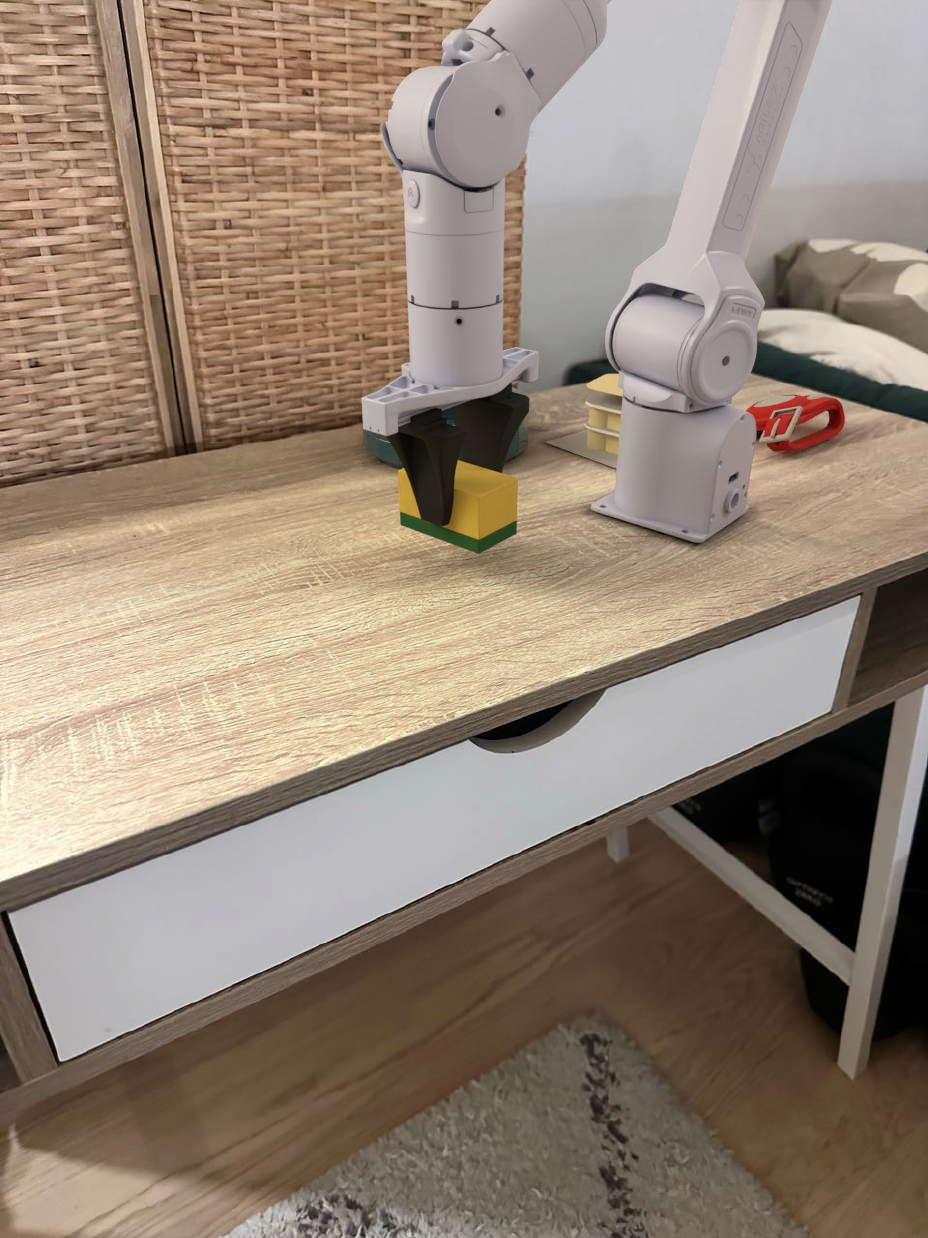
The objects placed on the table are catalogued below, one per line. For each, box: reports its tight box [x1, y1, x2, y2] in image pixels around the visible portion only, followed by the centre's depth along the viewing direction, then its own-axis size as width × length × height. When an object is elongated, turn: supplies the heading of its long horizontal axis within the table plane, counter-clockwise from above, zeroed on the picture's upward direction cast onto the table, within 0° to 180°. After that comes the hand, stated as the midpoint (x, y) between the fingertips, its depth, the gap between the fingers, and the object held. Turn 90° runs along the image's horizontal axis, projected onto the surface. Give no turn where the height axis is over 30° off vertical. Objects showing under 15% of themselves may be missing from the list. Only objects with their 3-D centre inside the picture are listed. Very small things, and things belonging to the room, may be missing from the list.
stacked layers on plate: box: [544, 373, 623, 470], centre depth 83 cm, size 10×9×6 cm
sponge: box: [397, 460, 519, 555], centre depth 62 cm, size 7×4×4 cm, turn 50°
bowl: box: [361, 385, 530, 469], centre depth 84 cm, size 15×15×4 cm
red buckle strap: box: [745, 393, 846, 453], centre depth 85 cm, size 12×4×10 cm
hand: (458, 509), depth 63 cm, fingers closed on sponge, 4 cm apart
